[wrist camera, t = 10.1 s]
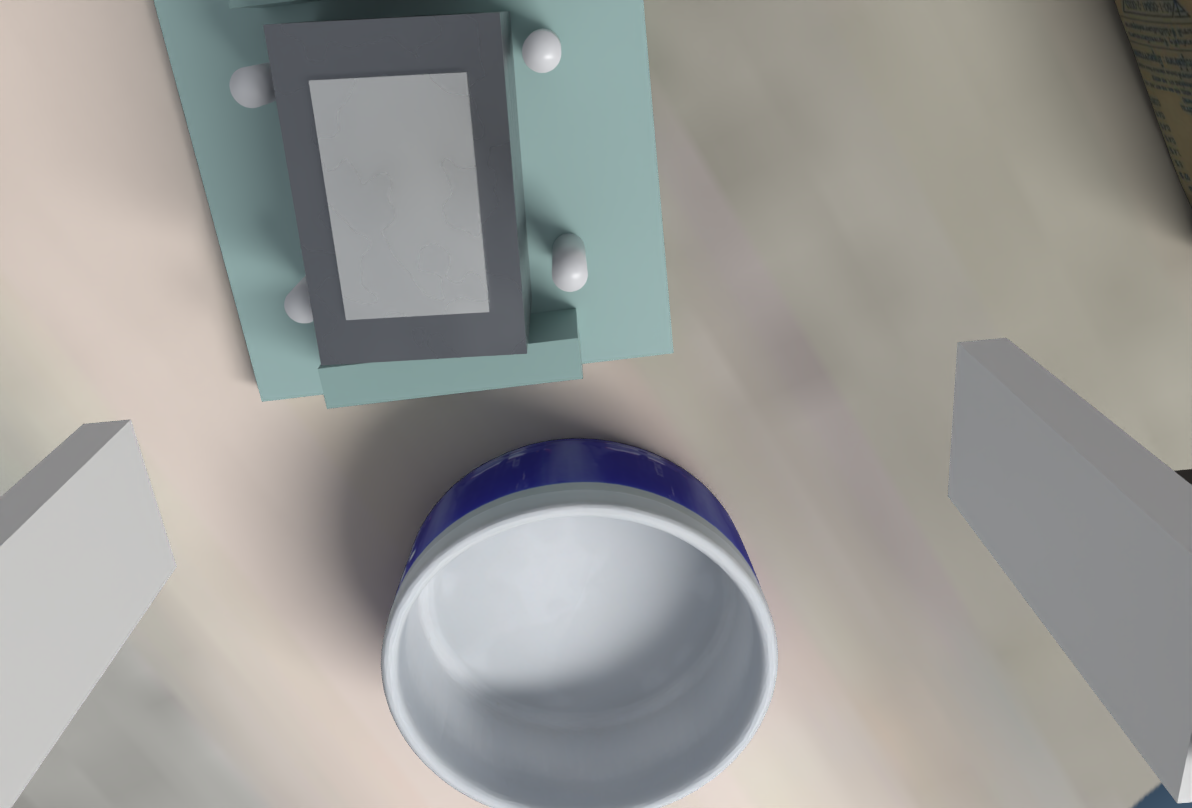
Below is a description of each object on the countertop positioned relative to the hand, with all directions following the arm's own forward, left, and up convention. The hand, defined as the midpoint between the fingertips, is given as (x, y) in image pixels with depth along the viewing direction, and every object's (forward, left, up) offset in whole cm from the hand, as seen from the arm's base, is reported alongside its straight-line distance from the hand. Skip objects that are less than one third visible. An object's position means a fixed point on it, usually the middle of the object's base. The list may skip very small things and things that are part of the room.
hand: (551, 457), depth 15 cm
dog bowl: (+1, +17, -22) cm, 28 cm away
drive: (+4, -2, -21) cm, 21 cm away
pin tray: (+4, -2, -22) cm, 22 cm away
